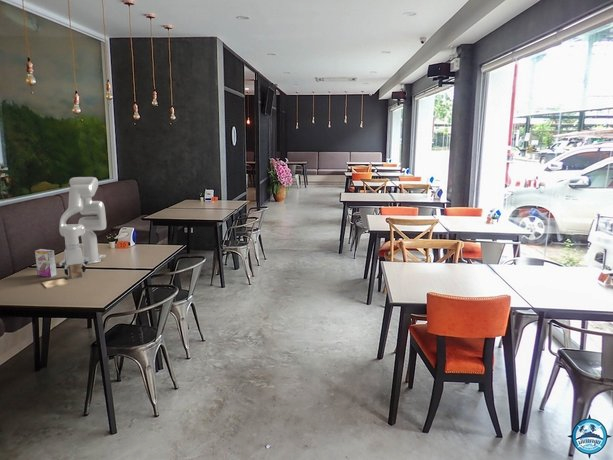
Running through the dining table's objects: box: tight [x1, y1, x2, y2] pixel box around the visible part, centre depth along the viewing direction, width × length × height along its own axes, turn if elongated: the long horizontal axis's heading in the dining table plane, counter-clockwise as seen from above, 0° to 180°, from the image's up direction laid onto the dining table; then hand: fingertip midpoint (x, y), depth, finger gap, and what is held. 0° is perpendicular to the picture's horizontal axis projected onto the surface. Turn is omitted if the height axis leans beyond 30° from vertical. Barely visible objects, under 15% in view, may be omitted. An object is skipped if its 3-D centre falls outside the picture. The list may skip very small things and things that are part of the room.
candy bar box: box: [34, 248, 58, 278], centre depth 298 cm, size 11×5×16 cm, turn 71°
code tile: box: [66, 274, 86, 281], centre depth 296 cm, size 9×9×1 cm
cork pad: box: [41, 278, 70, 289], centre depth 282 cm, size 12×12×1 cm
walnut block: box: [67, 264, 83, 280], centre depth 295 cm, size 6×6×8 cm
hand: (75, 273), depth 295 cm, fingers open, 9 cm apart
